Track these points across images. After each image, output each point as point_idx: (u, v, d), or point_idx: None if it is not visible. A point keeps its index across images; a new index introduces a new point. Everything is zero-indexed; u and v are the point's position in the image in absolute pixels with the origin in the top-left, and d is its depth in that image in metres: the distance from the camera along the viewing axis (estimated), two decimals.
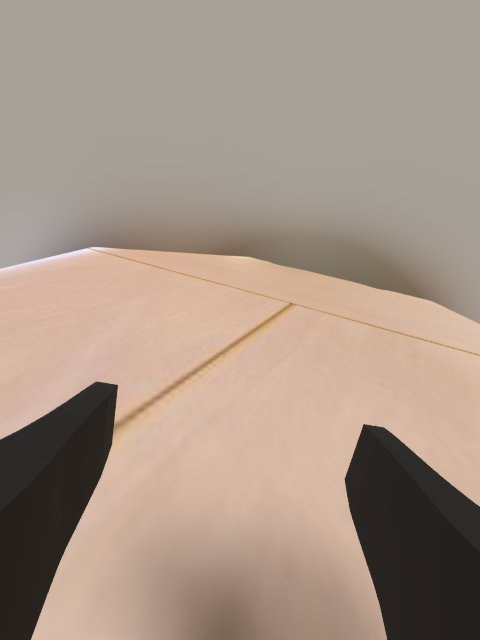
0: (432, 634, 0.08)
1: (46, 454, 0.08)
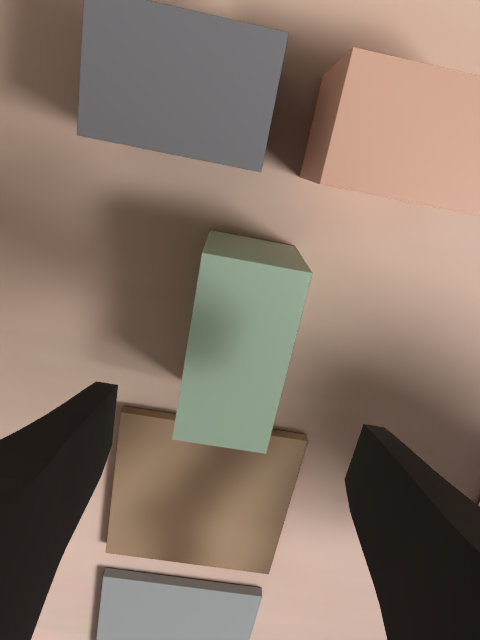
0: (432, 634, 0.08)
1: (46, 454, 0.08)
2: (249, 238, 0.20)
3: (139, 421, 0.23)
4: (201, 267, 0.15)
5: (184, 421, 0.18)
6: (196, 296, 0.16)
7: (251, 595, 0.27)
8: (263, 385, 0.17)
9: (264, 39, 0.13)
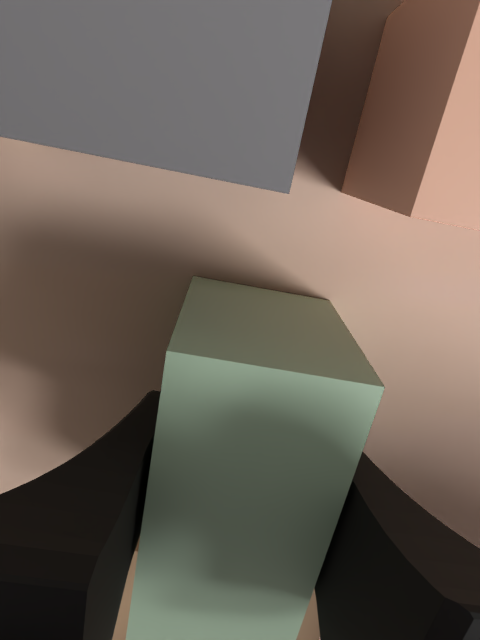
0: (352, 625, 0.08)
1: (130, 466, 0.08)
2: (257, 291, 0.12)
3: None
4: (166, 377, 0.08)
5: (145, 622, 0.10)
6: (158, 428, 0.08)
7: None
8: (284, 570, 0.10)
9: None
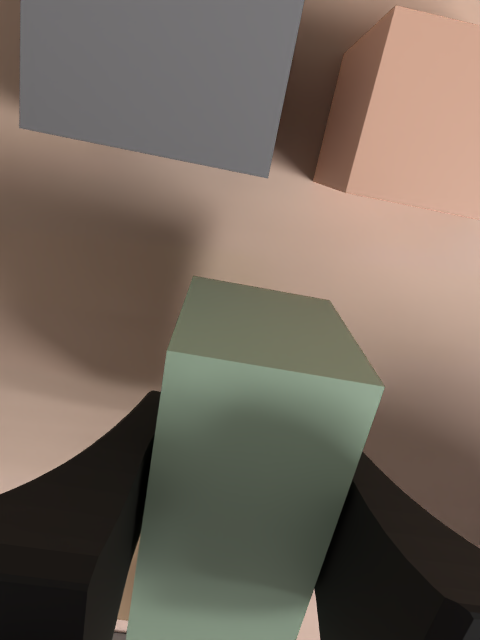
0: (352, 624, 0.08)
1: (130, 466, 0.08)
2: (257, 291, 0.12)
3: None
4: (166, 377, 0.08)
5: (145, 621, 0.10)
6: (158, 428, 0.08)
7: None
8: (284, 570, 0.10)
9: None
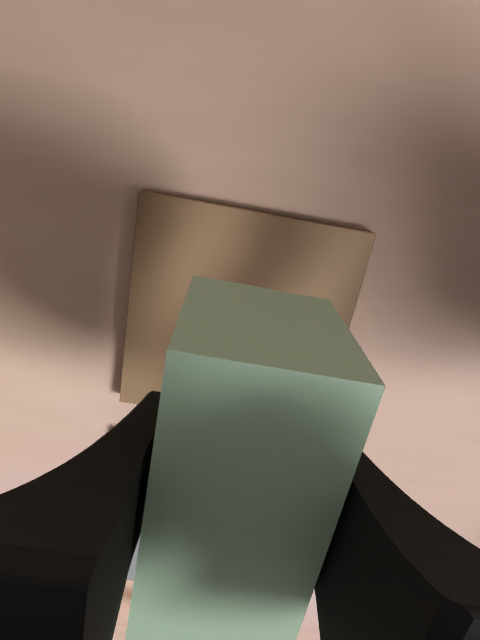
0: (352, 625, 0.08)
1: (130, 466, 0.08)
2: (257, 290, 0.12)
3: (162, 205, 0.18)
4: (166, 376, 0.08)
5: (145, 621, 0.10)
6: (158, 427, 0.08)
7: None
8: (284, 569, 0.10)
9: None
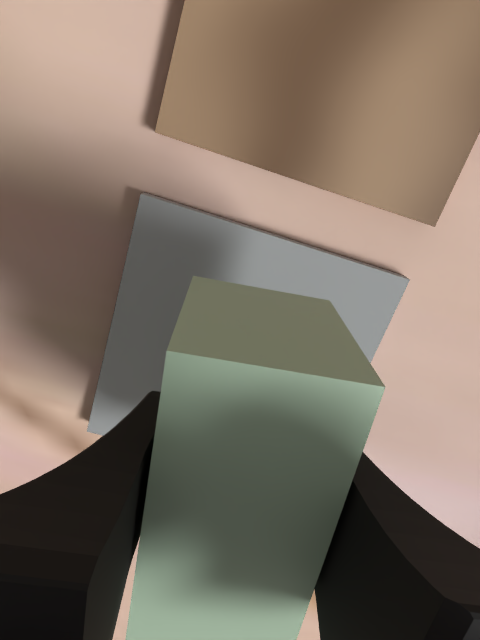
0: (352, 625, 0.08)
1: (130, 466, 0.08)
2: (257, 291, 0.12)
3: None
4: (166, 377, 0.08)
5: (145, 622, 0.10)
6: (158, 428, 0.08)
7: (392, 275, 0.16)
8: (284, 570, 0.09)
9: None
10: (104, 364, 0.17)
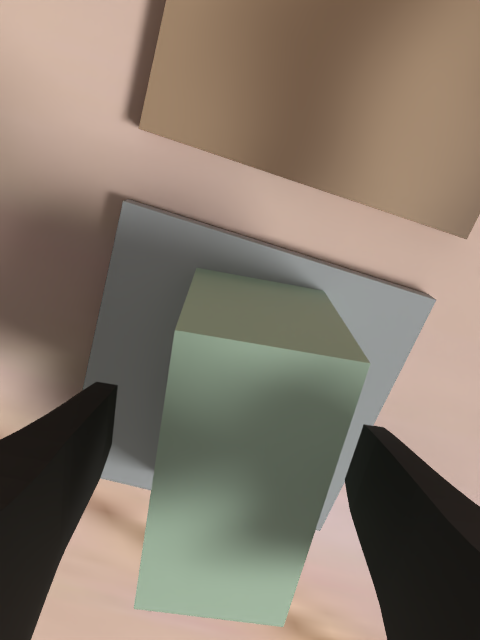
0: (433, 635, 0.08)
1: (46, 454, 0.08)
2: (256, 282, 0.13)
3: None
4: (174, 354, 0.09)
5: (153, 584, 0.11)
6: (166, 401, 0.09)
7: (416, 294, 0.14)
8: (280, 534, 0.10)
9: None
10: None
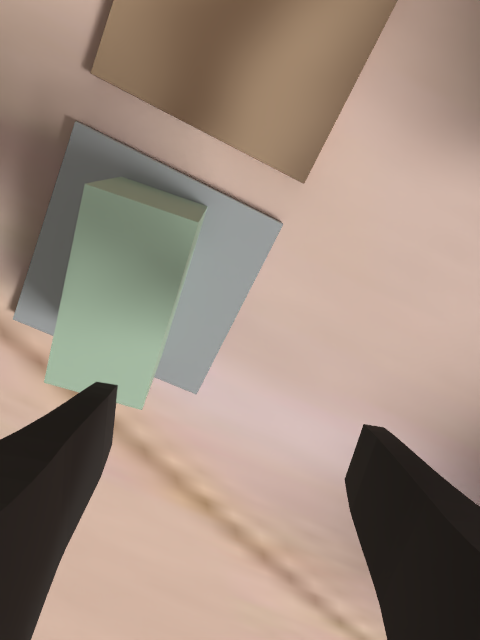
0: (433, 635, 0.08)
1: (46, 454, 0.08)
2: (160, 191, 0.19)
3: None
4: (83, 199, 0.15)
5: (58, 364, 0.17)
6: (76, 230, 0.15)
7: (270, 218, 0.20)
8: (142, 336, 0.17)
9: None
10: (33, 261, 0.21)
